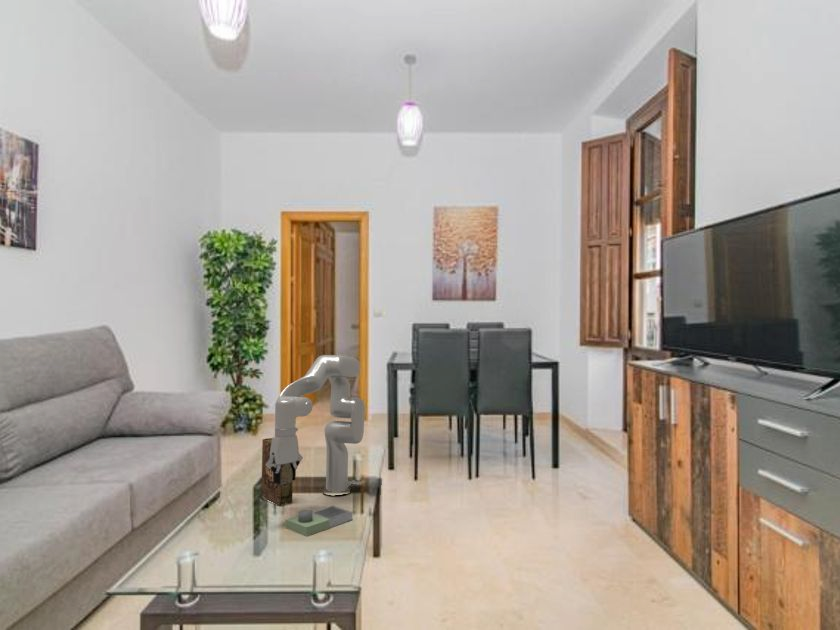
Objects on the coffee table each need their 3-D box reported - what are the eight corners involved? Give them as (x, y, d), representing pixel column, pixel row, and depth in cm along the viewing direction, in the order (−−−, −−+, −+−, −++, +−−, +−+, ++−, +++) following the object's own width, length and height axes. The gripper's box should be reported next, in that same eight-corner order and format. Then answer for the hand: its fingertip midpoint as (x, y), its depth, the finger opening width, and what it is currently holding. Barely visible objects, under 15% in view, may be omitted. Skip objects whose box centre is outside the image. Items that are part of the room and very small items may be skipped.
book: (259, 498, 220) (260, 439, 221) (271, 495, 224) (272, 437, 225) (280, 506, 208) (281, 444, 210) (292, 503, 212) (293, 442, 214)
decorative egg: (277, 490, 187) (277, 462, 187) (274, 485, 192) (275, 458, 192) (294, 488, 189) (294, 460, 190) (291, 483, 194) (291, 457, 195)
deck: (308, 520, 192) (308, 504, 192) (329, 528, 184) (329, 511, 185) (285, 528, 184) (285, 511, 185) (306, 536, 177) (306, 518, 177)
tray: (332, 513, 201) (332, 505, 201) (352, 520, 193) (352, 511, 193) (308, 521, 192) (308, 512, 192) (328, 528, 185) (328, 519, 185)
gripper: (298, 428, 200) (297, 475, 200) (259, 434, 187) (258, 484, 187) (310, 430, 196) (309, 478, 195) (270, 437, 183) (269, 488, 182)
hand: (284, 481), depth 191 cm, fingers closed on decorative egg, 6 cm apart
